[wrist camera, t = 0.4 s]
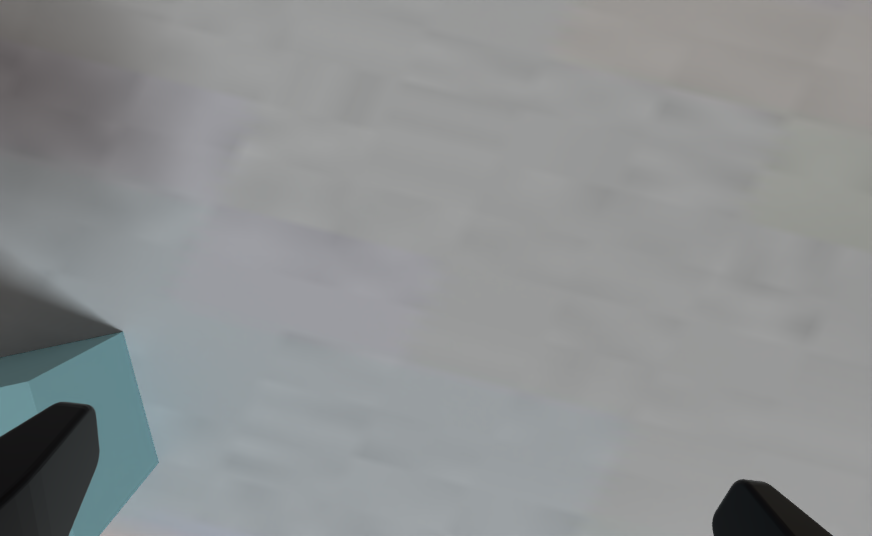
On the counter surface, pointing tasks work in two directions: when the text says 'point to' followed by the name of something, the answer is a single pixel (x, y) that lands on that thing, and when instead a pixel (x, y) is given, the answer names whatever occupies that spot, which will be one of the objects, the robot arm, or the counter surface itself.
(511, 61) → the counter surface
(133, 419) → the teal block
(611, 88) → the counter surface
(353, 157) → the counter surface
